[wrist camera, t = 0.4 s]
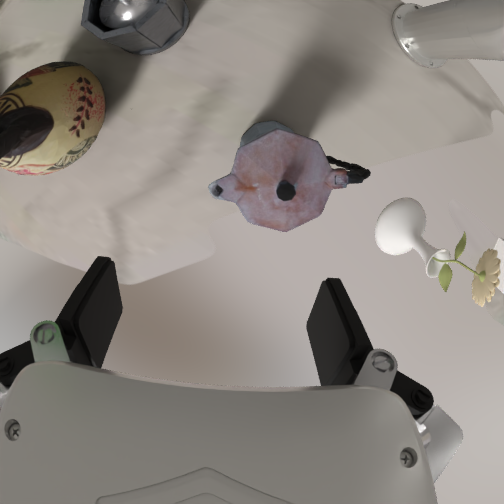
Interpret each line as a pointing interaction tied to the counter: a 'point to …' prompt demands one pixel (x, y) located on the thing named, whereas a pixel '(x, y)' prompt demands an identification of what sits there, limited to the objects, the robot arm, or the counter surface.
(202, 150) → the counter surface
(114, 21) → the dark grey stemmed piece
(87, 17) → the carafe
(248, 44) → the counter surface
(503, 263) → the milk
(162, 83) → the counter surface
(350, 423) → the robot arm
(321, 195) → the moka pot
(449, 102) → the counter surface
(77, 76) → the ceramic jug
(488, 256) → the flower in vase
